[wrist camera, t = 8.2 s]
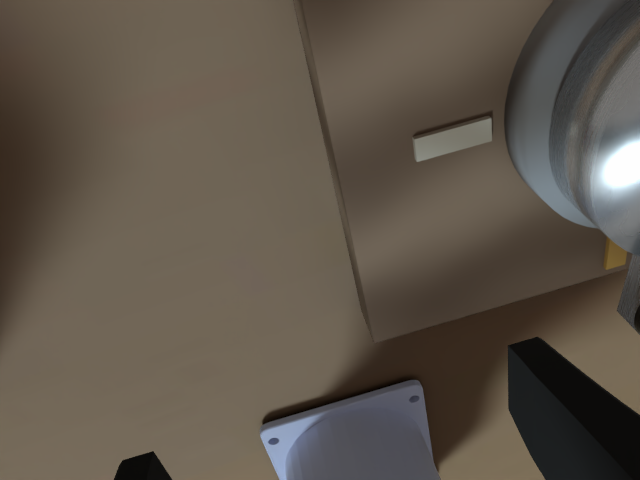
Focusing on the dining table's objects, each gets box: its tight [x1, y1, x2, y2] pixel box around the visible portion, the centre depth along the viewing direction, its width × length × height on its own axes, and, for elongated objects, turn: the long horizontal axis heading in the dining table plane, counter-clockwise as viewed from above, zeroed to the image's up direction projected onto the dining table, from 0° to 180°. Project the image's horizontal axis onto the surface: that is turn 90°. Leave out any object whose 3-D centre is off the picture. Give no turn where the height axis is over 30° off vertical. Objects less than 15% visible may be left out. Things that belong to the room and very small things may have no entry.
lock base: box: [293, 0, 633, 343], centre depth 18 cm, size 16×20×4 cm
